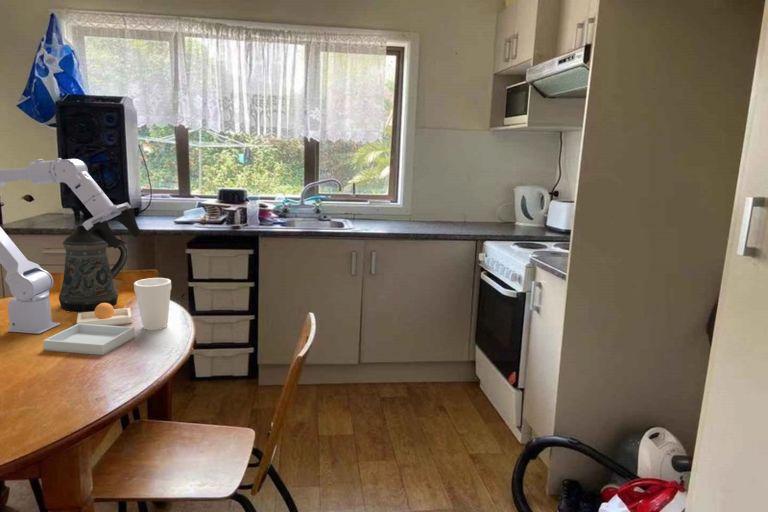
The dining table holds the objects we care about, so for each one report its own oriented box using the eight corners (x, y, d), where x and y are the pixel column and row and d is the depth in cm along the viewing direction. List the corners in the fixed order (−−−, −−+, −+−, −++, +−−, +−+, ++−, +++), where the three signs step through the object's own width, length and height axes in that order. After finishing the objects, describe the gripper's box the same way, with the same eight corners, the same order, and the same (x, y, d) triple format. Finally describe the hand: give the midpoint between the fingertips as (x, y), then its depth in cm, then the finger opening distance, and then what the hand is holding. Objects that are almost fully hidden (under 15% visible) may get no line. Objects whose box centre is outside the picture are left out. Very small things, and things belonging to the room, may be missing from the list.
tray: (43, 350, 132) (42, 340, 131) (79, 332, 145) (78, 323, 144) (104, 355, 130) (103, 345, 130) (134, 336, 143) (134, 327, 142)
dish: (77, 329, 147) (76, 322, 146) (78, 319, 155) (78, 313, 154) (131, 323, 153) (131, 316, 152) (130, 314, 161) (130, 307, 160)
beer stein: (47, 308, 164) (38, 227, 159) (101, 292, 182) (95, 220, 177) (85, 315, 158) (77, 232, 153) (138, 299, 176) (132, 224, 170)
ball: (91, 322, 151) (89, 305, 150) (102, 316, 156) (101, 300, 155) (107, 323, 151) (106, 306, 150) (118, 317, 156) (117, 301, 155)
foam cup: (160, 333, 145) (157, 287, 143) (129, 330, 147) (126, 284, 145) (179, 322, 155) (177, 279, 152) (151, 319, 156) (148, 276, 154)
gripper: (79, 200, 131) (116, 244, 134) (122, 183, 144) (155, 224, 146) (66, 214, 135) (101, 257, 137) (109, 196, 147) (141, 235, 150)
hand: (128, 240), depth 142 cm, fingers open, 7 cm apart
